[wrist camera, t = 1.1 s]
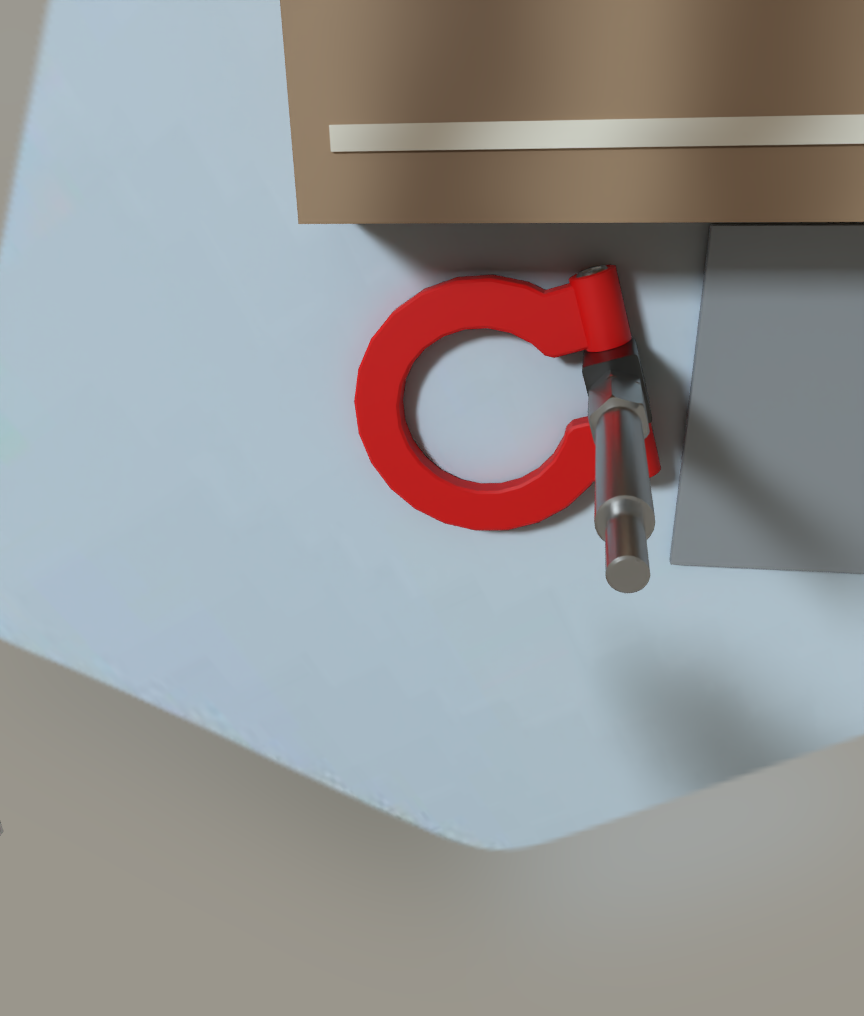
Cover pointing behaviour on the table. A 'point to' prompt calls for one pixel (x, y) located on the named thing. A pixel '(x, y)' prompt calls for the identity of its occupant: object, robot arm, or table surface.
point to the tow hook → (587, 441)
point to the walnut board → (576, 110)
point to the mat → (776, 403)
